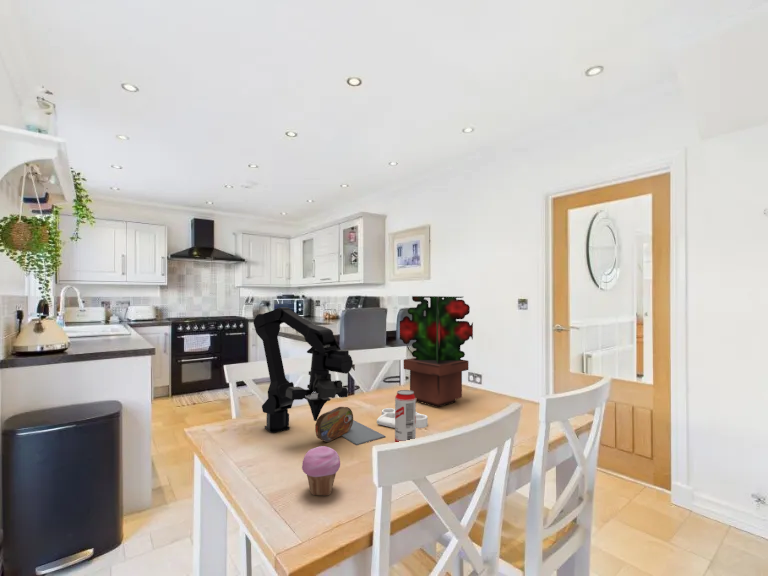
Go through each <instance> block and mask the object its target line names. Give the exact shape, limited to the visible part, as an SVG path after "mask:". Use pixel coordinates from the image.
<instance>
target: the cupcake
mask: <svg viewBox="0 0 768 576" xmlns="http://www.w3.org/2000/svg"><path fill="white" fill-rule="evenodd" d="M340 468H341V459H340V455H339V454H338V452H337V450H335V449H333V448H331V447H329V446H324V445H323V446H322V445H320V446H317V447H313V448H310V449H309V450H308V451H307V452H306V453H305V454H304V457H303V458H302V464H301V469H302V472H303V473H304V474H305V475H306V477H307V480H308V486H309V491H310V493H311V494H312V495H313V496H329V495H330V494H331V493H332V491H333V486H334V484H335V483H334V482H335V479H336V474H337V472H339V470H340Z"/></svg>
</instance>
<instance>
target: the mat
mask: <svg viewBox="0 0 768 576" xmlns="http://www.w3.org/2000/svg"><path fill="white" fill-rule="evenodd" d="M340 437H341V438H343V439H345V440H347V441H348V442H350V443H352V444H353V445H355V446H360V445H362V444H366V442H367V443H369V441H370V442H373V440H374V441H377V440H381V439H383V438H386V435H385V434H382V433H381V432H379V431H376V430H374V429H372V428H370V427H368V426H367V425H365V424H362V423H360V422H358V421H357V420H355V419H353V424H352V426H351V428H350V430H349V431H348V432H347V433H345V434H343V435H341V436H340ZM359 444H360V445H359Z"/></svg>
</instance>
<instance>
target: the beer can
mask: <svg viewBox="0 0 768 576" xmlns="http://www.w3.org/2000/svg"><path fill="white" fill-rule="evenodd" d="M394 397H395V399H394V401H395V402H394V403H395V404H394V407H395V408H394V409H395V428H394V443H395V442H399V441H406V440H410V439H415V438H416V437H417V436H416V434H417V432H416V431H417V430H416V429H417V428H416V412H417V409H416V407H417V405H416V403H417V401H416V398H415V395H414V392H413V391H411V390H410V389H400V390H397V391H396V395H395V396H394ZM416 439H417V438H416Z"/></svg>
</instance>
